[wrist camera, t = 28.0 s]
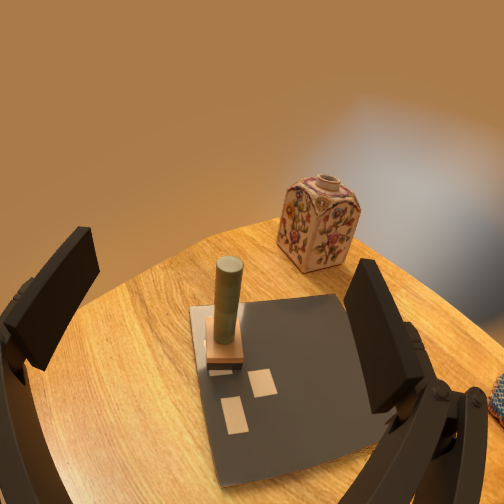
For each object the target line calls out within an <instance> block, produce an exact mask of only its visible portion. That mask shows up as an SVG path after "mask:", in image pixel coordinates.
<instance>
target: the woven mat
mask: <svg viewBox="0 0 504 504" xmlns="http://www.w3.org/2000/svg"><path fill="white" fill-rule="evenodd" d="M497 381H498V383H497V382H495V383H494V389H493V391H492V393H491V394H490V395H489V398H490V400H489V399H487V402H488V410H489V412H490V413H491V414H492V415H493V416H494V417H497V418H498V420H499V421H500V424H501V425H502V426H503V427H504V374H503V375H500V377H499V376H498V377H497ZM490 406H491V407H490ZM492 408H493V409H492Z"/></svg>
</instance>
